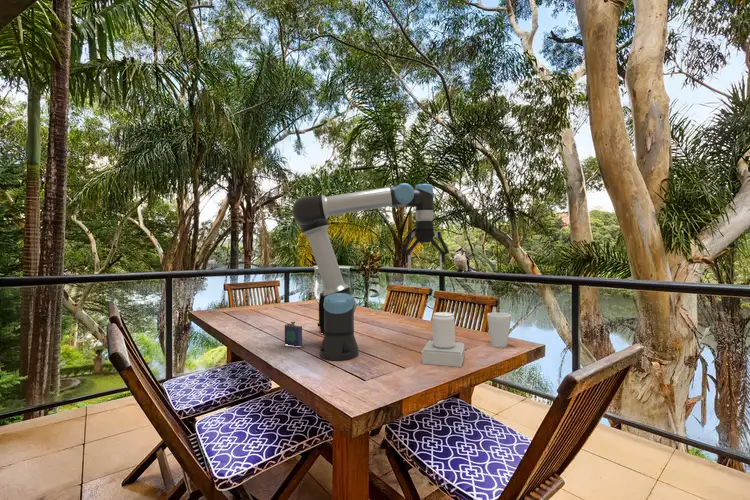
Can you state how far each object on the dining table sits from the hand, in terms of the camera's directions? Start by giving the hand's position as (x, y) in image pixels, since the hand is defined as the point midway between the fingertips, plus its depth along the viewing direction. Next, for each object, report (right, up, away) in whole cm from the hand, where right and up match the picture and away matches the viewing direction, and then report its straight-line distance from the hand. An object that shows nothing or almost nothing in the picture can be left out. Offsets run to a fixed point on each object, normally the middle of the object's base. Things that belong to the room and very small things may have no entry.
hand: (425, 270), depth 159 cm
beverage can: (+4, -27, -21) cm, 34 cm away
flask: (-57, -33, 0) cm, 65 cm away
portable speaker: (-44, -32, +22) cm, 59 cm away
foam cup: (+31, -32, -3) cm, 44 cm away
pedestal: (+4, -32, -21) cm, 38 cm away
